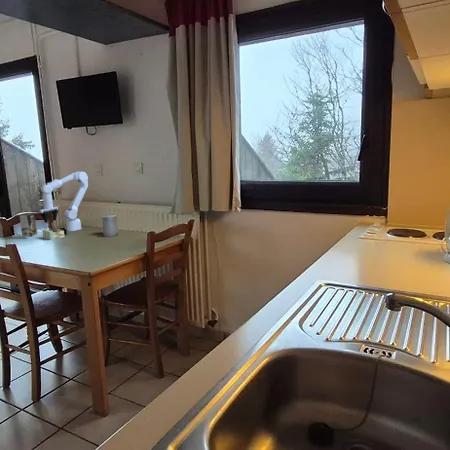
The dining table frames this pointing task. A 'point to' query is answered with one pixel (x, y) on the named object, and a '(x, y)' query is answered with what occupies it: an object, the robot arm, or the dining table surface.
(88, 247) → the dining table surface
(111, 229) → the pillar candle
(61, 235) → the socket block
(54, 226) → the dowel
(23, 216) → the coffee box
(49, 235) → the board
